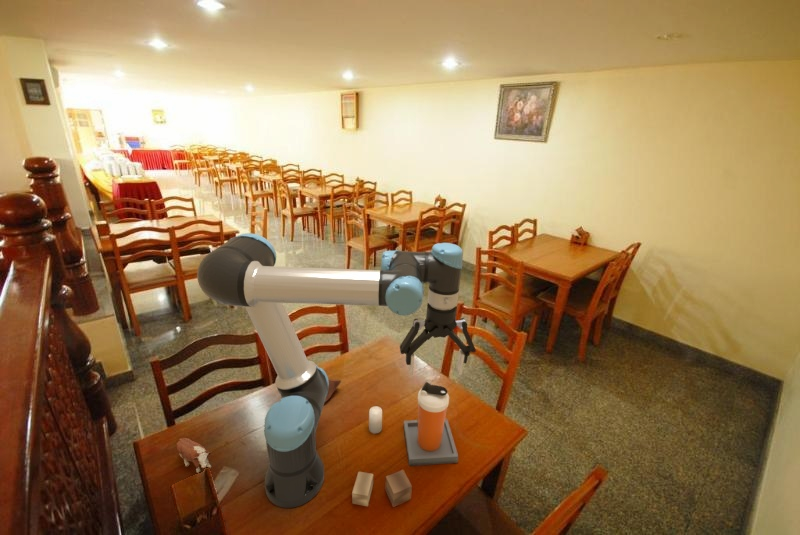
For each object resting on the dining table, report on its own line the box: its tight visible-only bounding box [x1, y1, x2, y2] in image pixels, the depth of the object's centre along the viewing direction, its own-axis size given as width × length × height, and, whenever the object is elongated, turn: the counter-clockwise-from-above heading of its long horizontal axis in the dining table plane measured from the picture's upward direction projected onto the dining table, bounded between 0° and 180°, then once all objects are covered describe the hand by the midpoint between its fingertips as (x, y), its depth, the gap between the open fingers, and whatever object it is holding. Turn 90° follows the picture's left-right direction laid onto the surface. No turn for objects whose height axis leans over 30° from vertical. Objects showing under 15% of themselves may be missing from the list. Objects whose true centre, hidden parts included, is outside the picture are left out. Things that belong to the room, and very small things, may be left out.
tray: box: [403, 418, 459, 467], centre depth 106 cm, size 14×14×2 cm
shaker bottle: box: [417, 381, 450, 451], centre depth 102 cm, size 9×9×20 cm
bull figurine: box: [176, 437, 213, 474], centre depth 95 cm, size 4×13×8 cm, turn 58°
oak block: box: [351, 471, 374, 507], centre depth 90 cm, size 4×6×4 cm, turn 171°
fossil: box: [325, 377, 342, 402], centre depth 121 cm, size 13×8×10 cm
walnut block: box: [384, 469, 413, 508], centre depth 90 cm, size 5×5×5 cm
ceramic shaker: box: [368, 405, 383, 434], centre depth 110 cm, size 4×4×7 cm
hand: (435, 372), depth 97 cm, fingers open, 13 cm apart
